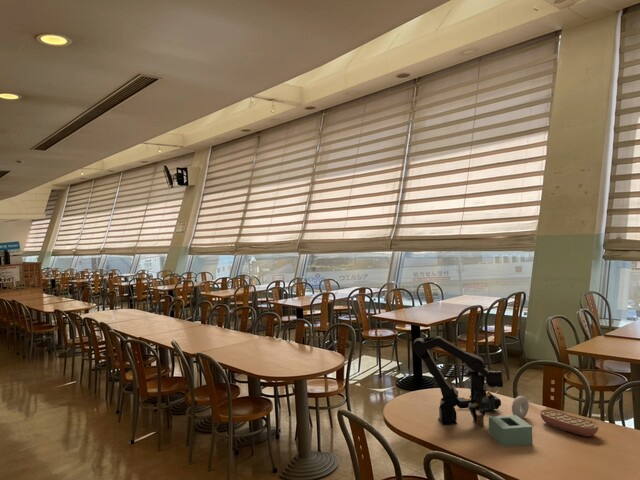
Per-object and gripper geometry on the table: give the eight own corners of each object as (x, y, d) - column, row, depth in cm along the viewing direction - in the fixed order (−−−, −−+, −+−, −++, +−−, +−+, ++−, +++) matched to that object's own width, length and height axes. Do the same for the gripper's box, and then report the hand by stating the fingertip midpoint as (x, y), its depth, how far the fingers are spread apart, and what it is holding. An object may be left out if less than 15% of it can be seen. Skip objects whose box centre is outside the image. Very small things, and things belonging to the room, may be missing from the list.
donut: (517, 422, 204) (516, 399, 204) (510, 419, 207) (509, 397, 207) (530, 416, 210) (530, 394, 210) (523, 414, 213) (523, 392, 213)
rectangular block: (478, 426, 201) (477, 415, 201) (473, 422, 206) (472, 410, 206) (483, 426, 201) (483, 414, 201) (478, 421, 206) (478, 410, 206)
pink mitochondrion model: (602, 436, 189) (602, 424, 188) (590, 443, 183) (590, 430, 183) (547, 419, 207) (547, 407, 207) (535, 424, 202) (535, 413, 202)
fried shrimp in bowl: (503, 405, 213) (464, 392, 215) (494, 422, 217) (456, 409, 219) (501, 391, 221) (463, 378, 223) (492, 408, 226) (455, 395, 228)
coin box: (503, 446, 181) (502, 428, 181) (489, 433, 193) (488, 416, 193) (532, 444, 183) (532, 426, 183) (516, 431, 195) (516, 415, 194)
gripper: (464, 393, 194) (465, 430, 194) (507, 390, 196) (508, 427, 196) (453, 384, 205) (454, 420, 205) (494, 382, 207) (495, 417, 207)
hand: (478, 421), depth 203 cm, fingers closed on rectangular block, 2 cm apart
